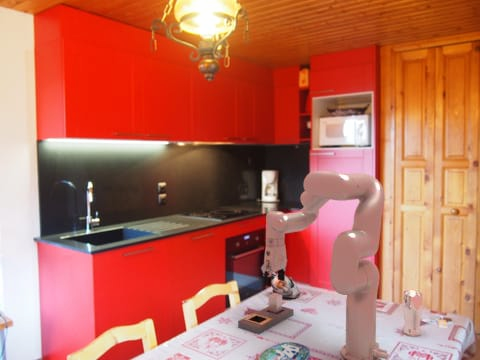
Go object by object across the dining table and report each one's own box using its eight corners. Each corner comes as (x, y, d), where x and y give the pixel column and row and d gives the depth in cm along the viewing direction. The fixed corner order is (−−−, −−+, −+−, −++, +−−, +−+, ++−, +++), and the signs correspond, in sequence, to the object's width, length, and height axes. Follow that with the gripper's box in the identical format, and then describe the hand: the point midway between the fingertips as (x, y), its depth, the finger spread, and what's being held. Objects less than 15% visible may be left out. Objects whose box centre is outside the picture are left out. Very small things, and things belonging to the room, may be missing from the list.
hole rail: (293, 316, 165) (293, 308, 165) (259, 335, 147) (259, 327, 147) (273, 311, 172) (273, 303, 172) (238, 328, 153) (238, 320, 153)
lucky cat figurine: (305, 297, 188) (299, 275, 182) (283, 310, 185) (277, 288, 179) (289, 280, 201) (283, 259, 195) (269, 292, 198) (262, 271, 192)
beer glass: (410, 337, 145) (411, 297, 144) (398, 330, 151) (398, 291, 151) (426, 335, 147) (427, 295, 146) (413, 328, 153) (414, 289, 153)
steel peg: (282, 316, 164) (282, 294, 164) (276, 319, 161) (276, 297, 161) (274, 313, 167) (274, 292, 166) (268, 316, 164) (268, 295, 163)
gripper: (270, 246, 154) (269, 290, 155) (294, 239, 167) (293, 280, 168) (255, 243, 158) (254, 286, 159) (279, 237, 172) (278, 276, 173)
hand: (274, 283), depth 164 cm, fingers open, 9 cm apart
